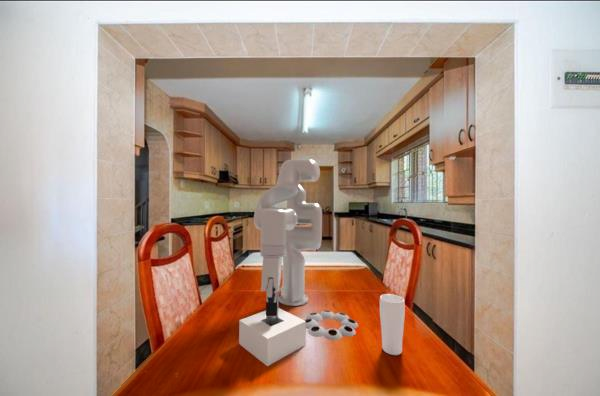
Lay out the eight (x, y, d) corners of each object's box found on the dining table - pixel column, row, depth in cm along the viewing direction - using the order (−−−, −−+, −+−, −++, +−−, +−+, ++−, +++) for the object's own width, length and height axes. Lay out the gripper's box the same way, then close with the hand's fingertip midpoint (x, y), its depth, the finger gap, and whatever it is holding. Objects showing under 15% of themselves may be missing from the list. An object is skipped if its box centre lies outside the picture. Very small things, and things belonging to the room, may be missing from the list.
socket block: (239, 343, 74) (239, 320, 74) (276, 327, 84) (276, 306, 84) (267, 366, 64) (267, 338, 64) (305, 344, 74) (305, 321, 74)
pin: (263, 326, 74) (264, 285, 74) (273, 322, 76) (273, 283, 77) (271, 331, 71) (271, 288, 72) (280, 327, 74) (281, 286, 74)
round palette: (325, 308, 100) (325, 303, 100) (369, 326, 86) (369, 320, 86) (289, 325, 87) (289, 319, 87) (335, 349, 73) (335, 342, 73)
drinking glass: (375, 344, 74) (376, 293, 75) (397, 343, 75) (397, 293, 75) (385, 358, 68) (385, 303, 68) (409, 357, 68) (409, 302, 68)
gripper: (264, 245, 83) (264, 301, 82) (255, 255, 66) (254, 325, 66) (287, 245, 83) (286, 301, 82) (283, 256, 66) (282, 326, 66)
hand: (272, 311), depth 74 cm, fingers closed on pin, 3 cm apart
